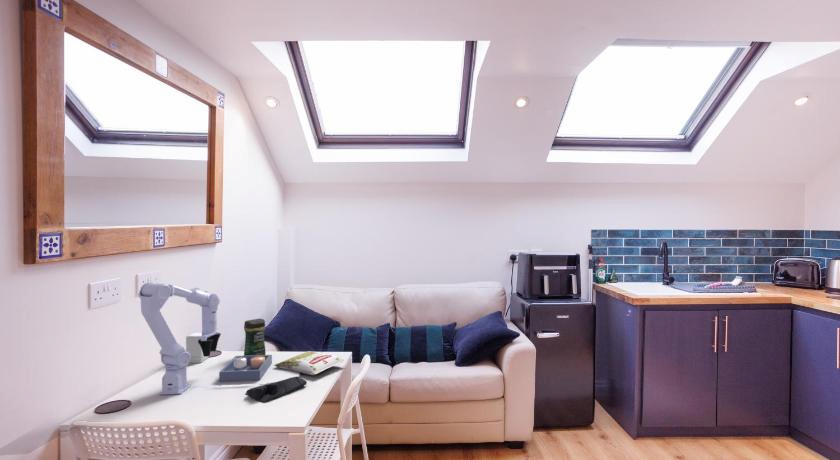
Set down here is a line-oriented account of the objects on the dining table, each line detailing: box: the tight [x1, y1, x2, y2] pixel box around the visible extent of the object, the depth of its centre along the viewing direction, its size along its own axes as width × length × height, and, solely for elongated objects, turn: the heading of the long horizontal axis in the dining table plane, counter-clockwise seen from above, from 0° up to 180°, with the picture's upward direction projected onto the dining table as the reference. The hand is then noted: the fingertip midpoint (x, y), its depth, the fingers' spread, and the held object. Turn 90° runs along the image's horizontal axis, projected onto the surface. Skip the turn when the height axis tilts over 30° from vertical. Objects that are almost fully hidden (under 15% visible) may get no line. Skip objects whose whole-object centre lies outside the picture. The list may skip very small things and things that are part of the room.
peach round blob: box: [251, 356, 265, 370], centre depth 203 cm, size 6×6×4 cm
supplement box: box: [185, 332, 209, 364], centre depth 217 cm, size 7×7×13 cm
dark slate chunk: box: [244, 376, 308, 403], centre depth 178 cm, size 15×22×5 cm
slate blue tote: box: [218, 354, 273, 383], centre depth 197 cm, size 22×16×5 cm
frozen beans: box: [273, 350, 346, 376], centre depth 204 cm, size 21×6×25 cm
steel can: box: [234, 357, 247, 371], centre depth 193 cm, size 5×5×7 cm
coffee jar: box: [243, 318, 267, 356], centre depth 221 cm, size 10×8×19 cm
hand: (209, 353), depth 194 cm, fingers open, 7 cm apart
